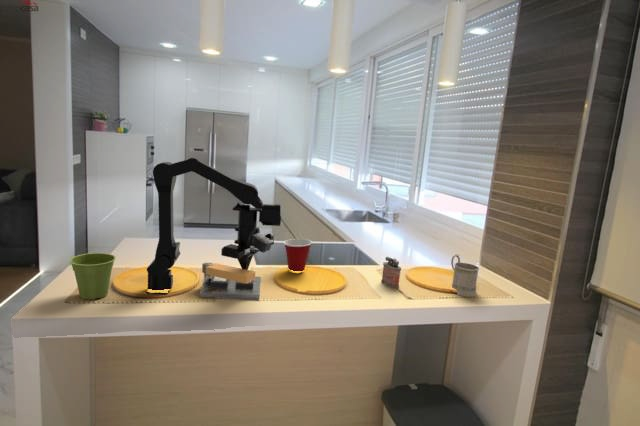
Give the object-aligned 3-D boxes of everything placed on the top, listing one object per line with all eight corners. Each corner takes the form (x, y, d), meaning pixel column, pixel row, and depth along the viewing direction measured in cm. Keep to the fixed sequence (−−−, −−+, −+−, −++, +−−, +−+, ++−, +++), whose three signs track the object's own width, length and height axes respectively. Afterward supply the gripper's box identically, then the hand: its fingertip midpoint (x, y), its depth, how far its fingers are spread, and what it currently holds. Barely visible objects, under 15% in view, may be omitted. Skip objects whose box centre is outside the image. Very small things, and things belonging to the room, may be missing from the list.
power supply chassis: (198, 297, 127) (199, 282, 126) (207, 278, 143) (207, 265, 142) (259, 299, 129) (260, 284, 128) (260, 280, 145) (261, 267, 145)
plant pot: (73, 289, 125) (72, 253, 123) (117, 287, 129) (117, 252, 127) (66, 305, 114) (65, 265, 112) (114, 301, 119) (114, 263, 117)
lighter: (401, 287, 150) (404, 261, 149) (394, 289, 148) (397, 262, 147) (385, 280, 157) (388, 255, 155) (379, 281, 155) (381, 255, 153)
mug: (483, 296, 148) (488, 264, 146) (458, 296, 146) (463, 263, 144) (460, 282, 162) (464, 252, 160) (437, 282, 160) (441, 252, 158)
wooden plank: (198, 272, 133) (198, 265, 132) (208, 268, 138) (208, 261, 137) (246, 283, 127) (246, 275, 126) (254, 279, 131) (255, 271, 131)
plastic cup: (281, 266, 164) (283, 236, 162) (308, 267, 165) (310, 238, 163) (281, 275, 153) (283, 243, 151) (310, 276, 154) (313, 245, 152)
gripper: (253, 234, 119) (250, 286, 122) (284, 223, 136) (281, 269, 139) (221, 228, 123) (219, 278, 126) (254, 218, 140) (252, 262, 143)
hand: (245, 272), depth 133 cm, fingers closed
